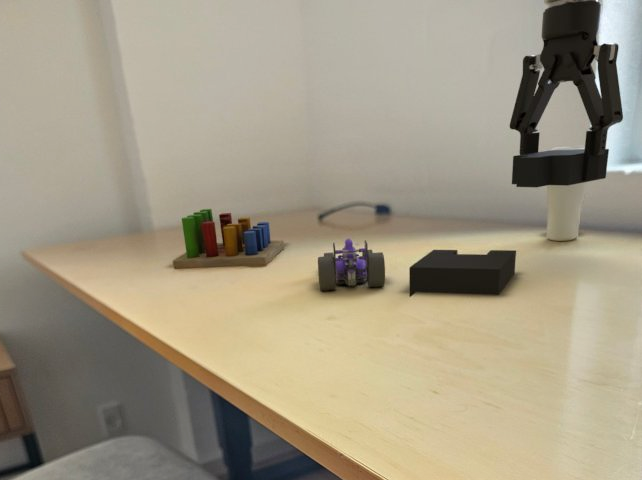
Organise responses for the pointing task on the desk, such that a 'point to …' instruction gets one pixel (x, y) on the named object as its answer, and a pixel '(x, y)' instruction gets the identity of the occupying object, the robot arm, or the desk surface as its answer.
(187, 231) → the peg board
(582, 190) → the drinking glass
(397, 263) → the desk surface
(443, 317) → the desk surface
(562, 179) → the tab pad
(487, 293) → the notch pad
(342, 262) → the toy race car
